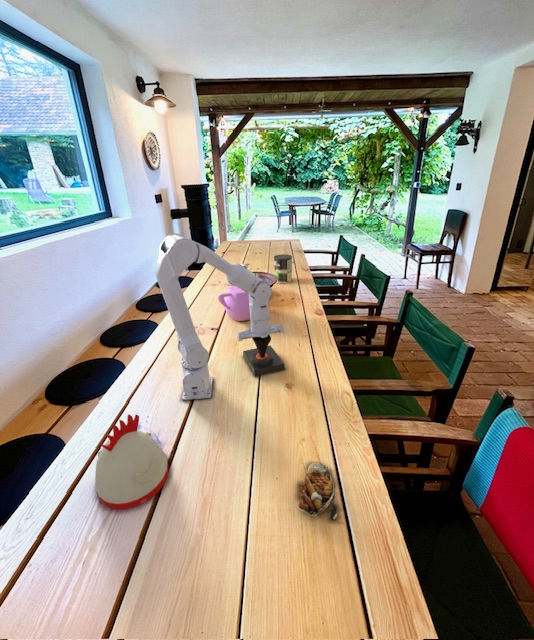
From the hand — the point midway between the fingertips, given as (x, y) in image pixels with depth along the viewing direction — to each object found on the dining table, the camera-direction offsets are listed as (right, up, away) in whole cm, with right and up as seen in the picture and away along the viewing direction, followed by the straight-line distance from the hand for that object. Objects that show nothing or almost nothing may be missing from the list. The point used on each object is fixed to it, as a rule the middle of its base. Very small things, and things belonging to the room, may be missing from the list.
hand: (261, 355), depth 103 cm
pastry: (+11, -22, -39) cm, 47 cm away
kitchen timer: (-26, -22, -35) cm, 49 cm away
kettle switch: (0, -3, +4) cm, 5 cm away
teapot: (-7, +13, +40) cm, 43 cm away
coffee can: (+11, +34, +84) cm, 91 cm away
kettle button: (0, -2, +1) cm, 2 cm away
